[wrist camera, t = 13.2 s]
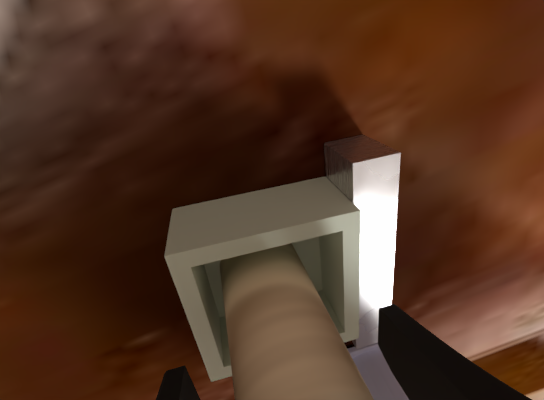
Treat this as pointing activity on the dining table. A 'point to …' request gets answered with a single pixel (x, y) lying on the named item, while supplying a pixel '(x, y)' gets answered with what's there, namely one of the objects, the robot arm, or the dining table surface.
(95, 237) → the dining table surface
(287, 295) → the dowel
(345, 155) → the rail
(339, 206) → the socket block
